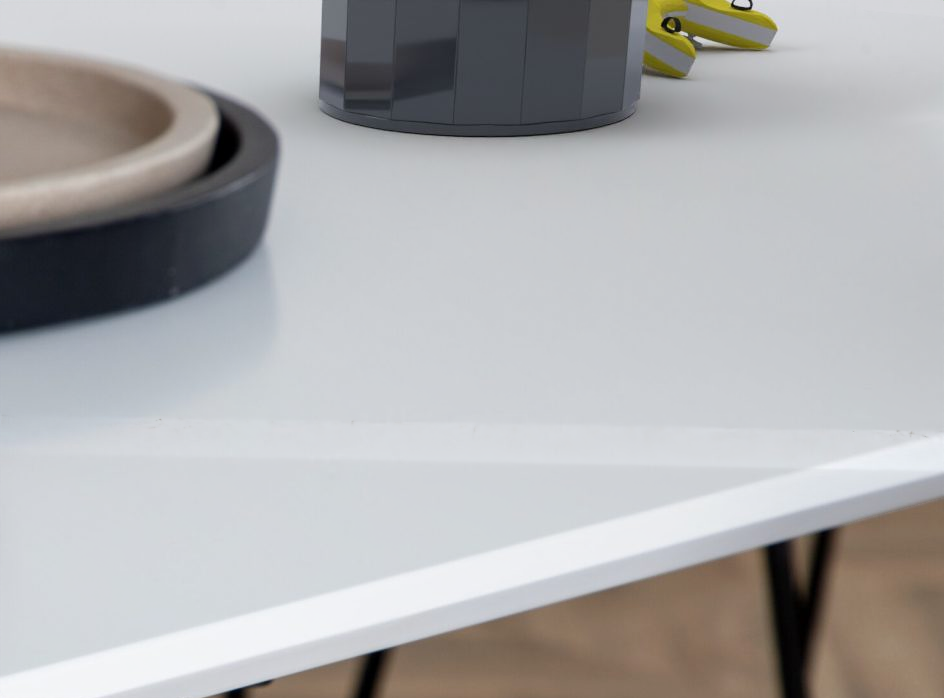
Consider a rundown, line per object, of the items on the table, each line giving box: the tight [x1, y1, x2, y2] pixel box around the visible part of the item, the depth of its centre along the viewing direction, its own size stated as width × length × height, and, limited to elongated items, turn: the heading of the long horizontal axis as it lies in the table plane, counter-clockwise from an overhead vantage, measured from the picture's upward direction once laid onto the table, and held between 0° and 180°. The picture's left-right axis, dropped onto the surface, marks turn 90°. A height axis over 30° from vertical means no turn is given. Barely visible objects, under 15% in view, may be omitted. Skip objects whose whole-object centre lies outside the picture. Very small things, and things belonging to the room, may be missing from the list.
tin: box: [318, 0, 649, 137], centre depth 105 cm, size 15×15×8 cm
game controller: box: [643, 0, 778, 78], centre depth 116 cm, size 10×6×4 cm, turn 139°
